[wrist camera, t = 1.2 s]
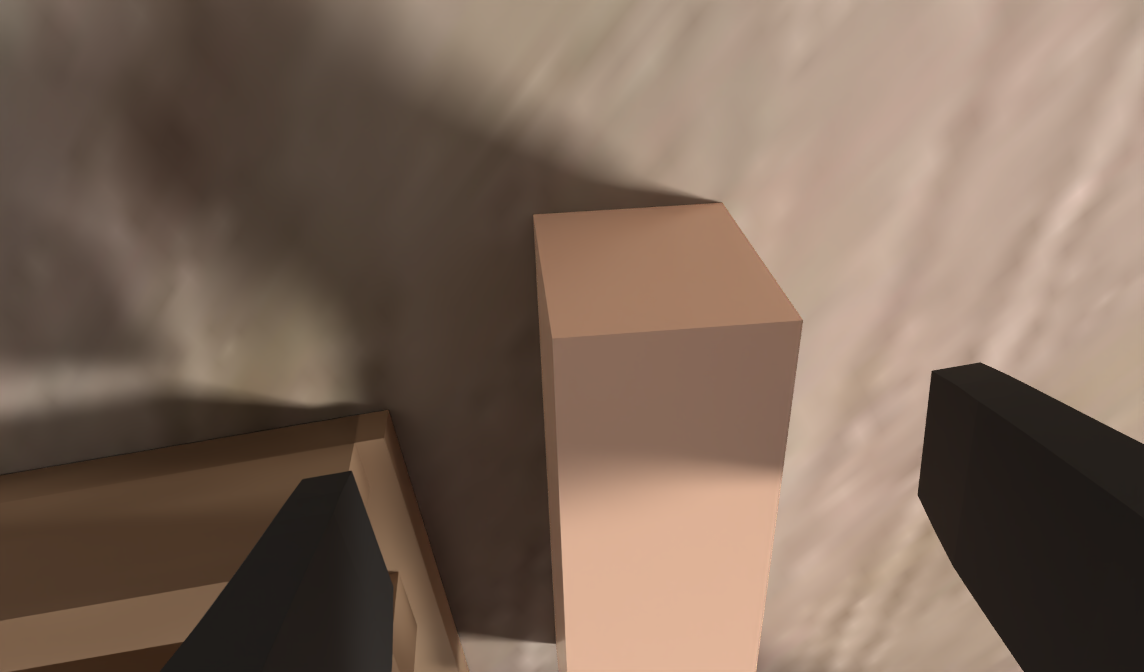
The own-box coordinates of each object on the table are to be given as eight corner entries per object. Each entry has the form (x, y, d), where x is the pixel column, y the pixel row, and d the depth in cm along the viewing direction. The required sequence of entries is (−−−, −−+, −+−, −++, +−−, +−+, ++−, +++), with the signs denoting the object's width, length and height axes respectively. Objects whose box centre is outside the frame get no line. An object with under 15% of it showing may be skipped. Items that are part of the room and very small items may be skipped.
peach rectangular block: (690, 623, 18) (738, 800, 15) (555, 636, 18) (573, 820, 15) (719, 197, 13) (802, 320, 10) (532, 209, 13) (552, 338, 10)
